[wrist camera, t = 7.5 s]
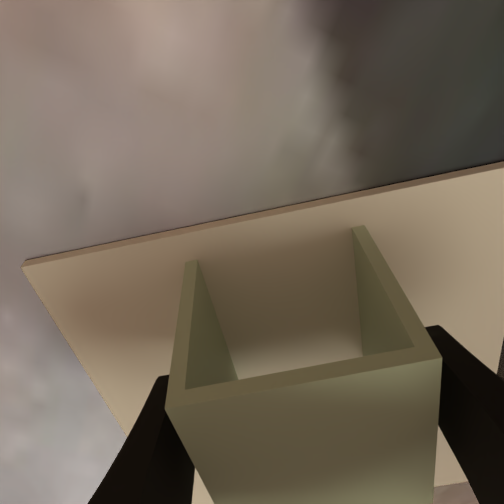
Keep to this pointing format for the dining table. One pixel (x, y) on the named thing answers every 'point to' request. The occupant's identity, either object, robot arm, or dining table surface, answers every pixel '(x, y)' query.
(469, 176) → the mat
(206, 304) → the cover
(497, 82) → the dining table surface
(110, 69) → the dining table surface
